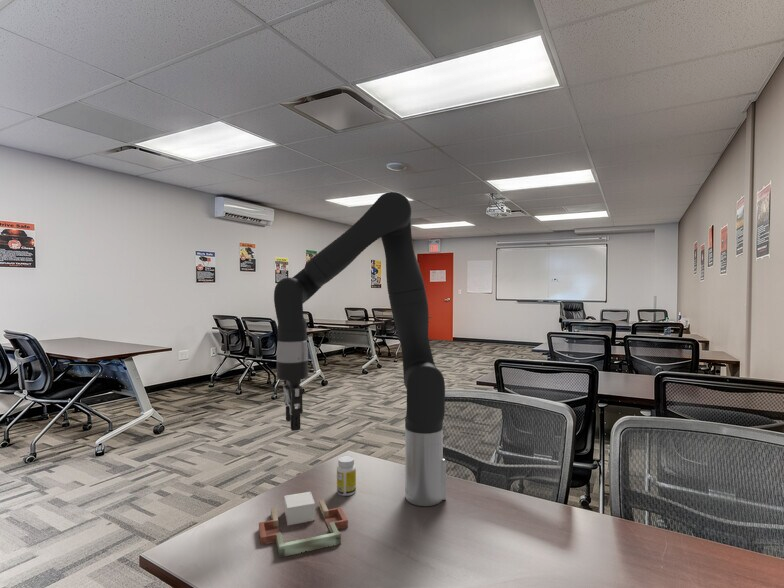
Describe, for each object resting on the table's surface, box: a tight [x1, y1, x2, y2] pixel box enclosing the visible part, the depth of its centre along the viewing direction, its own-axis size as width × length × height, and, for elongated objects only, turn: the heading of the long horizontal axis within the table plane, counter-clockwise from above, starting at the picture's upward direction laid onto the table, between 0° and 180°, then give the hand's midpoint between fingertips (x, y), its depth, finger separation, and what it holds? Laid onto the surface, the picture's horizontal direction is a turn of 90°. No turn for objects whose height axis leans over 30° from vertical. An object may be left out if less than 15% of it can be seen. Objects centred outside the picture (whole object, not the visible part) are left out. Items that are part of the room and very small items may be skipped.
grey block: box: [283, 491, 316, 526], centre depth 97 cm, size 6×6×4 cm
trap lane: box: [258, 498, 349, 558], centre depth 92 cm, size 18×17×2 cm
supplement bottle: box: [336, 455, 357, 497], centre depth 109 cm, size 5×5×8 cm
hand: (292, 425), depth 106 cm, fingers open, 7 cm apart
